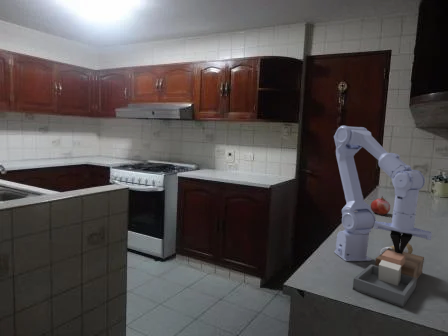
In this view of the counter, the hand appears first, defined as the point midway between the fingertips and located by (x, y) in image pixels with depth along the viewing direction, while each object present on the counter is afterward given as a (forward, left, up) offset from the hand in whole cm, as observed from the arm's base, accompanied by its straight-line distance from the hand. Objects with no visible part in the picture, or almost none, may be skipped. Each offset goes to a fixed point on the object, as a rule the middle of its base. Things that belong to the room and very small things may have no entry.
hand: (398, 257), depth 96 cm
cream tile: (-5, -4, -2) cm, 6 cm away
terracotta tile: (-3, -2, -1) cm, 4 cm away
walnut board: (+2, +2, -6) cm, 7 cm away
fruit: (+46, +74, -6) cm, 87 cm away
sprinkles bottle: (+17, +17, -4) cm, 24 cm away
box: (-9, -7, -6) cm, 13 cm away
